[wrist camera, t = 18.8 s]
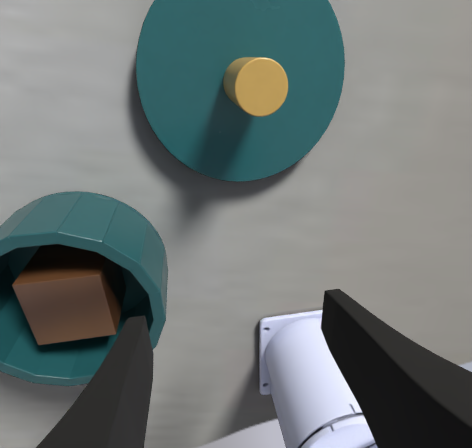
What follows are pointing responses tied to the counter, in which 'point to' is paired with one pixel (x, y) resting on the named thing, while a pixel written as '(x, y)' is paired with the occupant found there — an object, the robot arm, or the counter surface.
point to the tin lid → (239, 81)
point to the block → (70, 294)
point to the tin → (88, 238)
